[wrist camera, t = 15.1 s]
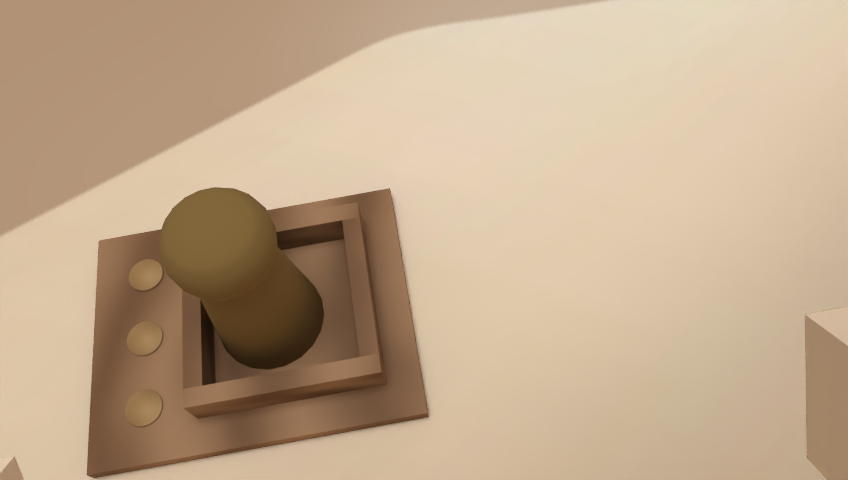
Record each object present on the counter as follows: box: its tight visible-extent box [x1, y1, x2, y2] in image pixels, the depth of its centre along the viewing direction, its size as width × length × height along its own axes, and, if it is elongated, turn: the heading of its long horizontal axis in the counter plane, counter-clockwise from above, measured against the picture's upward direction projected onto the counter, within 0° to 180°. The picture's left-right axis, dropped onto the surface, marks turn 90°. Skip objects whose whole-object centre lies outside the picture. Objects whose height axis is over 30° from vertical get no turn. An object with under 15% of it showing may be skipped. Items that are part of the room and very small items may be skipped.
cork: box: [159, 187, 324, 370], centre depth 36 cm, size 6×6×11 cm
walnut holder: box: [87, 188, 428, 478], centre depth 41 cm, size 18×14×3 cm
